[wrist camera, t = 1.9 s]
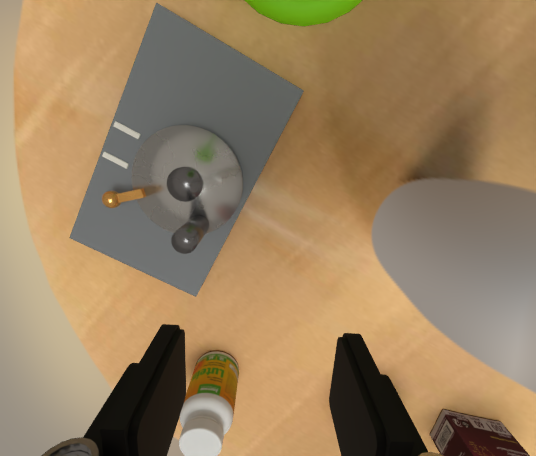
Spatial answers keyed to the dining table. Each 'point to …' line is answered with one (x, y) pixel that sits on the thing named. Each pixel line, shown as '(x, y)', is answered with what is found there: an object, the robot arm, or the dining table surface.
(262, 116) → the stand
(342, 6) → the wineglass
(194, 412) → the supplement bottle
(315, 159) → the dining table surface
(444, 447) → the supplement box
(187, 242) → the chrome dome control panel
